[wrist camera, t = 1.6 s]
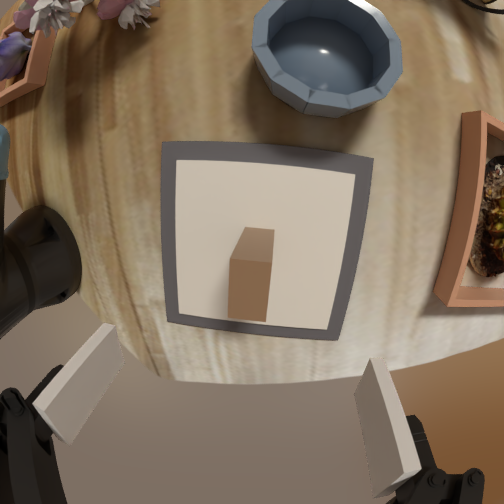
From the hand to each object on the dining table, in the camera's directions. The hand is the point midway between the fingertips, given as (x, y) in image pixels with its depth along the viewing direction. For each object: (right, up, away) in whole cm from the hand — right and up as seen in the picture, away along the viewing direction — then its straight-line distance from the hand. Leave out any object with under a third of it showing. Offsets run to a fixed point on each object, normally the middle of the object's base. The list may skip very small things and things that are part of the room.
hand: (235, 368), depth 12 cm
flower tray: (-36, +38, +10) cm, 53 cm away
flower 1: (-35, +38, +10) cm, 53 cm away
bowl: (+8, +25, +10) cm, 28 cm away
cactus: (+35, +11, +13) cm, 38 cm away
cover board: (+1, +6, +17) cm, 18 cm away
